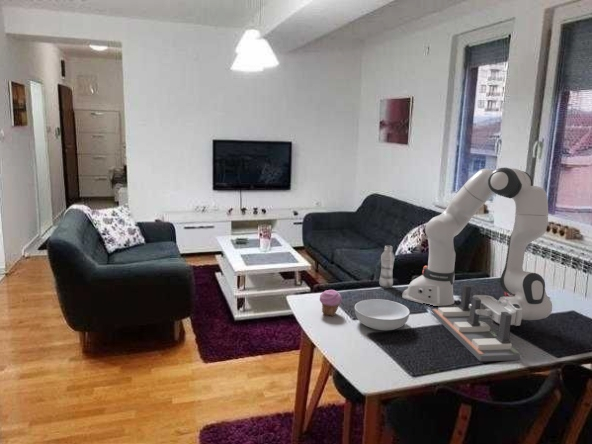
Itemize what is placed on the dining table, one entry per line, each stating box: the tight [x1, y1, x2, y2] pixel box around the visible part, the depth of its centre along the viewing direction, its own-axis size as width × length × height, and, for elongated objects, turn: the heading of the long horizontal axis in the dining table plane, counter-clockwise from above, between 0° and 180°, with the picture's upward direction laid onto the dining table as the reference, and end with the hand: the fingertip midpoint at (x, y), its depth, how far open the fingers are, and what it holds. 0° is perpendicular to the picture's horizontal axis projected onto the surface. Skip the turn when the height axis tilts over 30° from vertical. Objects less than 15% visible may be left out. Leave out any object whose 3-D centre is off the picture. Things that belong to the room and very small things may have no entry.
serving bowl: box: [354, 298, 411, 331], centre depth 179 cm, size 21×21×7 cm
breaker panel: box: [431, 306, 521, 362], centre depth 174 cm, size 14×40×4 cm, turn 7°
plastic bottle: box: [378, 244, 396, 288], centre depth 221 cm, size 6×7×20 cm
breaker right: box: [495, 312, 512, 344], centre depth 159 cm, size 3×4×10 cm
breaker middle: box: [467, 296, 481, 326], centre depth 172 cm, size 3×4×10 cm
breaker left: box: [457, 283, 472, 311], centre depth 187 cm, size 3×4×10 cm
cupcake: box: [319, 289, 343, 317], centre depth 188 cm, size 9×9×10 cm
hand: (472, 309), depth 172 cm, fingers closed on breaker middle, 3 cm apart
